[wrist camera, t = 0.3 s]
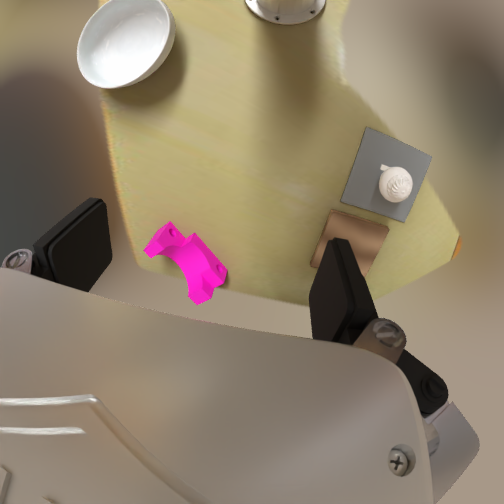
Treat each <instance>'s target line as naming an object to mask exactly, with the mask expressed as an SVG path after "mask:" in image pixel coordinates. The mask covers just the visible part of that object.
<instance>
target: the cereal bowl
mask: <svg viewBox="0 0 504 504" xmlns="http://www.w3.org/2000/svg"><path fill="white" fill-rule="evenodd" d="M175 27H176V25H175V20H174V17H173V14H172V13H171V11H170V9H169V8H168V7H167V5H166V4H165V3H163V2H162V1H161V0H110V1H109V2H107V3H106V4H104V5H103V6H102V7H101V8H99V9H98V10H97V11H96V12H95V13H94V15H93V16H92V17H91V18H90V19H89V21H88V22H87V24H86V25H85V27H84V29H83V31H82V33H81V36H80V39H79V42H78V48H77V60H78V65H79V69H80V71H81V73H82V75H83V76H84V77H85V79H86V80H87V81H88V82H90V83H91V84H93V85H95V86H97V87H100V88H106V89H113V88H121V87H126V86H129V85H133V84H135V83H138V82H140V81H141V80H144V79H145V78H147V77H148V76H150V75H151V74H152V73H153V72H154V71H156V70H157V69H158V68H159V67H160V65H162V63H163V62H164V60H165V59H166V57H167V56H168V55H169V52H170V50H171V49H172V46H173V43H174V38H175V32H176V30H175V29H176V28H175Z"/></svg>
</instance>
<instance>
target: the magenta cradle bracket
mask: <svg viewBox="0 0 504 504" xmlns="http://www.w3.org/2000/svg"><path fill="white" fill-rule="evenodd" d="M143 251H144V252H145V253H146V254H147V255H148V256H149V257H150V258H152V257H154V256H155V255H165V256H167V257H169V258H171V259H172V260H174V261H175V262H176V263H177V264H178V265H179V267H180V268H181V269H182V271H183V273H184V275H185V277H186V279H187V283H188V288H189V294H188V297H190V299H191V300H192V301H193V302H194V303H196V304H197V305H198V304H201V303H203V302H205V301H207V300H209V299H211V297H212V294H213V291H214V288H215V287H217V286H219V285H221V284H223V283H224V281H225V277H226V273H227V269H226V268H225V266H224V265H223V264H222V263H221V262H220V261H219V260H218V258H217V257H216V256H215V255H214V254H213V253H212V252H211V251H210V249H209V248H208V247H207V246H206V245H205V244H204V243H203V241H202V240H201V239H200V238H199V237H198V236H197V235H196V233H193V234H192V235H190V236H189V237H187V238H186V239H185V237H184V236H183V235H182V234H181V233H180V232H179V231H178V229H177V228H176V227H175V226H174V225H173V224H172V223H171V221H170V222H168V223H167V224H166V225H164V226H163V227H162V228H160V229H159V230H158V231H157V232H156V234H155V235H154V236H153V238H152V239H151V240H150V242H149V243H148V245H147V246H146V247H145V249H144V250H143Z"/></svg>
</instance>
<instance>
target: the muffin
mask: <svg viewBox="0 0 504 504" xmlns="http://www.w3.org/2000/svg"><path fill="white" fill-rule="evenodd" d="M412 186H413V182H412V178H411V176H410V174H409V173H408V172H407V171H406V170H405V169H403V168H401V167H390V168H388V169H386V170H385V171H384V172H383V173H382V174H381V176H380V179H379V189H380V192H381V194H382V195H383V197H384V198H385V199H386V200H388V201H390V202H401V201H403V200H405V199H406V198H408V195H410V193H411V190H412Z"/></svg>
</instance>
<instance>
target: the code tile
mask: <svg viewBox="0 0 504 504" xmlns="http://www.w3.org/2000/svg"><path fill="white" fill-rule="evenodd" d="M431 159H432V156H430V155H427V154H426V153H424V152H422V151H420V150H418V149H416V148H414V147H412V146H410V145H407V144H405V143H403V142H401V141H399V140H396V139H394V138H392V137H390V136H387V135H385V134H383V133H380V132H378V131H375V130H373V129H370V128H368V127H366V129H365V132H364V135H363V138H362V141H361V144H360V147H359V150H358V153H357V156H356V159H355V162H354V165H353V167H352V170H351V173H350V176H349V179H348V181H347V184H346V187H345V190H344V192H343V195H342V198H341V200H340V201H341V202H344V203H347V204H350V205H353V206H357V207H360V208H363V209H366V210H369V211H372V212H375V213H378V214H381V215H384V216H387V217H390V218H393V219H396V220H399V221H402V222H405V220H406V218H407V216H408V214H409V212H410V209H411V207H412V205H413V203H414V201H415V198H416V196H417V194H418V191H419V189H420V187H421V184H422V182H423V179H424V177H425V174H426V172H427V169H428V167H429V164H430V162H431ZM390 167H401V168H403V169H405V170H406V171H407V172H408V173H409V174H410V176H411V178H412V182H413V186H412V190H411V193H410V195H408V198H406V199H405V200H403V201H401V202H390V201H388V200H386V199H385V198H384V197H383V195H382V194H381V192H380V189H379V179H380V176H381V174H382V173H383V172H384V171H385V170H386V169H388V168H390Z"/></svg>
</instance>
